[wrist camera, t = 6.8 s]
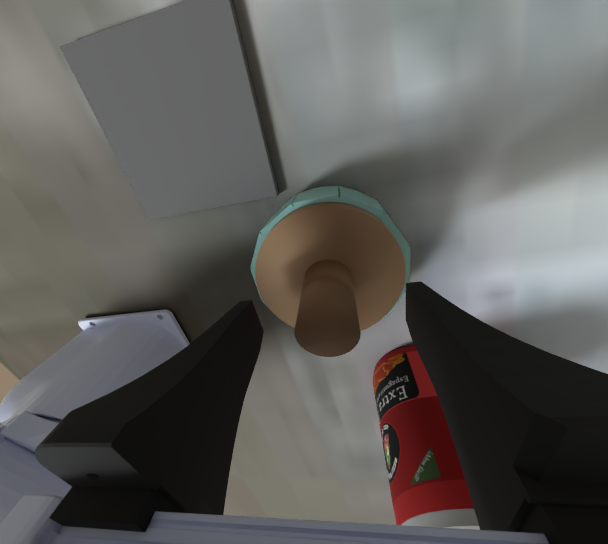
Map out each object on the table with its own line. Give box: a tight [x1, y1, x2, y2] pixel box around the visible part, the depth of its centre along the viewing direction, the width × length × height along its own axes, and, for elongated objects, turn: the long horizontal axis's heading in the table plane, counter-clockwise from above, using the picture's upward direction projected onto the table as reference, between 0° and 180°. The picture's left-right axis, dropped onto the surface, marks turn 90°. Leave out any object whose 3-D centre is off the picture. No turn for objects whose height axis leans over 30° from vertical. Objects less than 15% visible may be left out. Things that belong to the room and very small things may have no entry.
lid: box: [255, 202, 406, 357], centre depth 12 cm, size 8×8×5 cm
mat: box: [60, 0, 279, 220], centre depth 14 cm, size 9×9×1 cm
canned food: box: [373, 345, 480, 530], centre depth 17 cm, size 8×8×11 cm
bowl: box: [250, 186, 411, 319], centre depth 15 cm, size 9×9×3 cm
